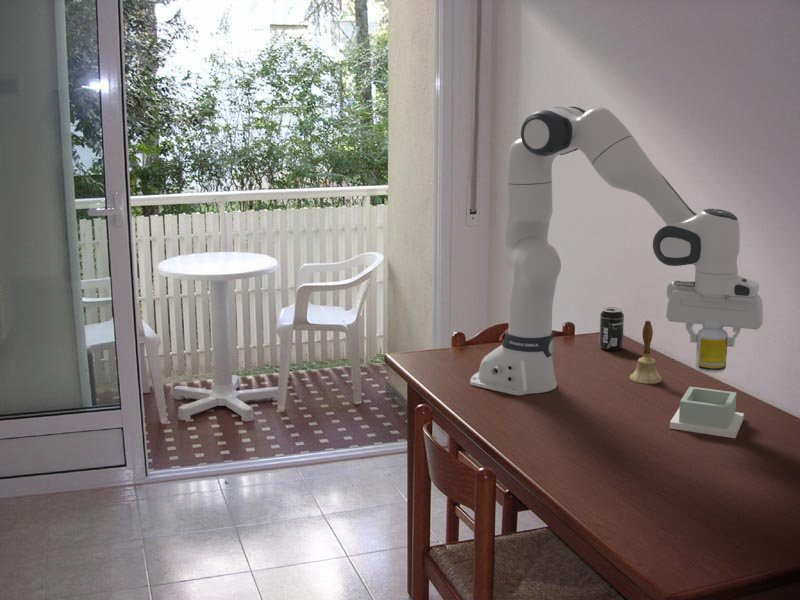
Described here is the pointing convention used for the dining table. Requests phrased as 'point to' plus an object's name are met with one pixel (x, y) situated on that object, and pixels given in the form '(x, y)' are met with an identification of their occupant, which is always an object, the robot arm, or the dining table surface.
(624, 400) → the dining table surface
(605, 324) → the beverage can
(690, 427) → the well block
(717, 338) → the pill bottle
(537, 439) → the dining table surface
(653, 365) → the hand bell
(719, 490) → the dining table surface
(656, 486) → the dining table surface
